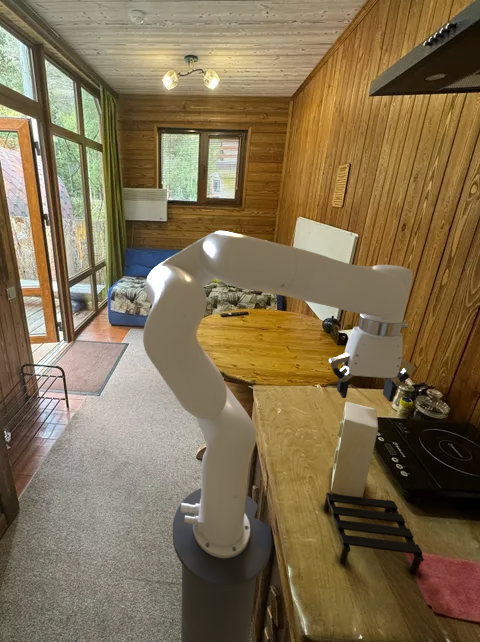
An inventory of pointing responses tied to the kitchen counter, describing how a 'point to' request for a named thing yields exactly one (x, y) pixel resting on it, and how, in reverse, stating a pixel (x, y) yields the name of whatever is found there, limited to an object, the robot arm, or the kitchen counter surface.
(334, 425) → the kitchen counter surface
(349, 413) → the toy refrigerator
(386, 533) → the rack
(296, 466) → the kitchen counter surface
